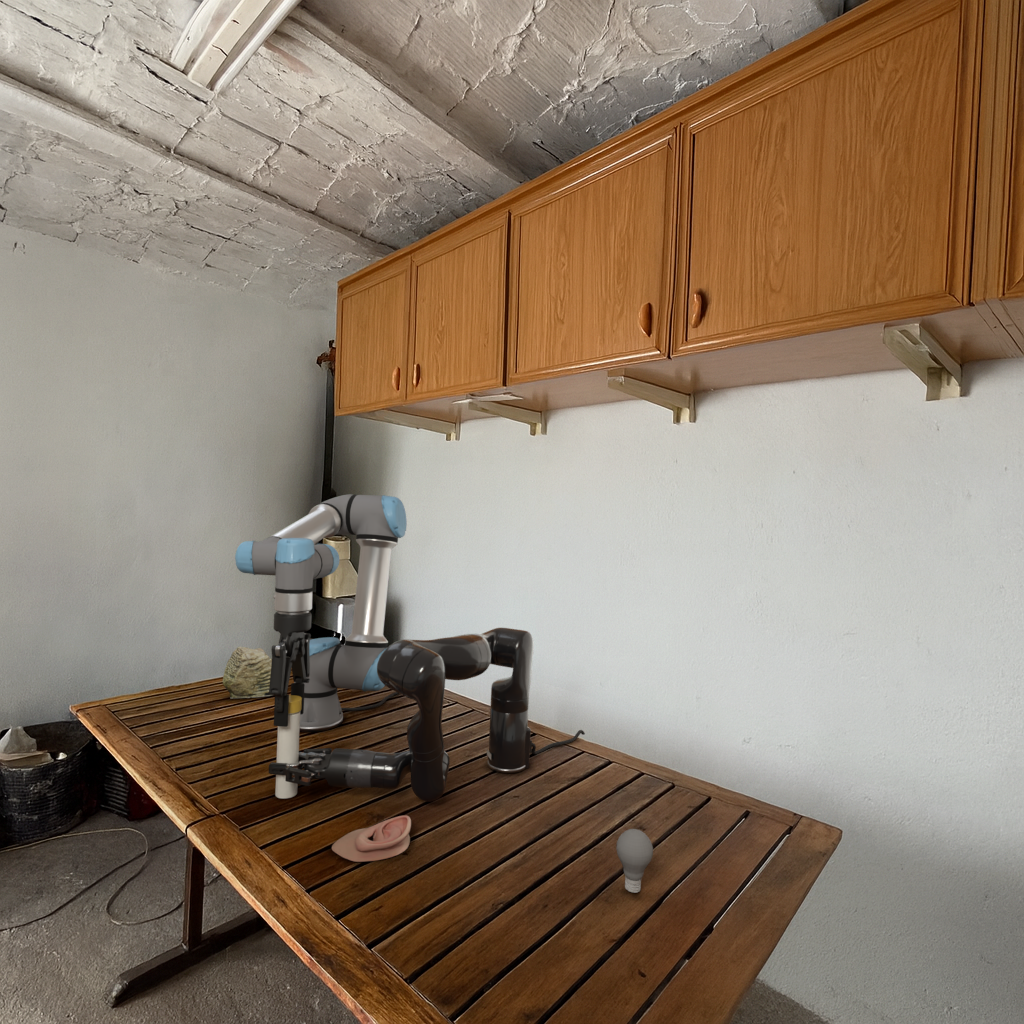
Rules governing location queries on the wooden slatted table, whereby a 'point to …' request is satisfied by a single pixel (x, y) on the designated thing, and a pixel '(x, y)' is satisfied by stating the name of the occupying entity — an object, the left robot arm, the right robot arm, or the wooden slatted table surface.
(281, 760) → the white bottle
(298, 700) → the lid
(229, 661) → the fossil
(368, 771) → the right robot arm
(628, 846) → the light bulb
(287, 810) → the wooden slatted table surface
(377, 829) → the anatomical model
